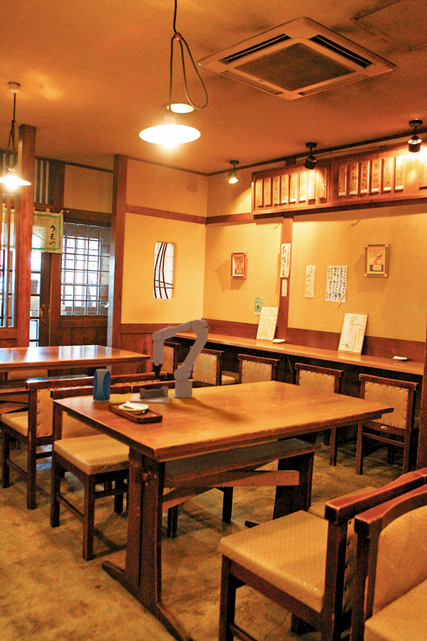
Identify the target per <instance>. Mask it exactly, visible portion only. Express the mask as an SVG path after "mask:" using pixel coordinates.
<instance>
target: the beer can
mask: <svg viewBox="0 0 427 641" xmlns="http://www.w3.org/2000/svg"><path fill="white" fill-rule="evenodd" d="M111 380H112V374H111V372H110V369H107V368H97V369H95V372H94V373H93V387H92V389H93V390H92V400H93V402H94V403H96V402H97V404H105V402H106V403H108V402H110V400H111V387H112V386H111V384H112V381H111Z"/></svg>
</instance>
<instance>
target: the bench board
mask: <svg viewBox="0 0 427 641" xmlns="http://www.w3.org/2000/svg"><path fill="white" fill-rule="evenodd" d="M130 401H131V402H136V403H135V404H138V403H139V404H163V405H164V404H165V405H166V404H167V405H170V402H171V394H168V396H161V397H152V398H143V399H142V398H140V393H133V394H132V395H131V398H129V402H130Z"/></svg>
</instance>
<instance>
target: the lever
mask: <svg viewBox="0 0 427 641" xmlns="http://www.w3.org/2000/svg"><path fill="white" fill-rule="evenodd" d="M139 394H140V398H142V399H143V398H152V397H161V396H168V395H169V387H168V386H166V385H165V386H161V388H157V389H156V388H154V389H146V388H139Z"/></svg>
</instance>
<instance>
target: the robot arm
mask: <svg viewBox="0 0 427 641" xmlns="http://www.w3.org/2000/svg"><path fill="white" fill-rule="evenodd" d="M209 329H210V326H209V323H208V321H207V320H206V319H194V320H189V321H186V322H183V323H182V324H179V325H176V326H173V325H172V326H171V325H167V327H165V328H160V329H159V330H155V331H153V332H152V335H151V338H152V341H153V343H152V345H153V346H152V359H150V362H151V363H152V362H153V364H152V365H151V366H152V367H153V372H154V377H155V378H159V377H160V375H161V370H162V367H163V365H164V364H163V363H164V349H165V348H164V342H165V340H167V339H170V338H173V337H176V335H177V334H178V333H180V332H183V331H186V330H192V331H193V332H194V334H195V336H196V340H195V342H194V343H193V345H192V347H191V348H190V350H189V352H188V354H187V356H186V358H185V359H184V360H183V363H181V365H180V366H178V368H177V369H176V370H174V371H173V376H174V378H175V381H174V382H175V383H174V384H175V386H174V387H175V389H174V394H173V398H181V399H192V398H193V397H192V396H193V380H190V379H189V378H190V377H191V375H192V370H193V365H194V364H195V362H196V361H197V358H198V357H199V355H200V354H201V352H202V350H203V349H204V347H205V345H206V343H207V342H208V338H209Z"/></svg>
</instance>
